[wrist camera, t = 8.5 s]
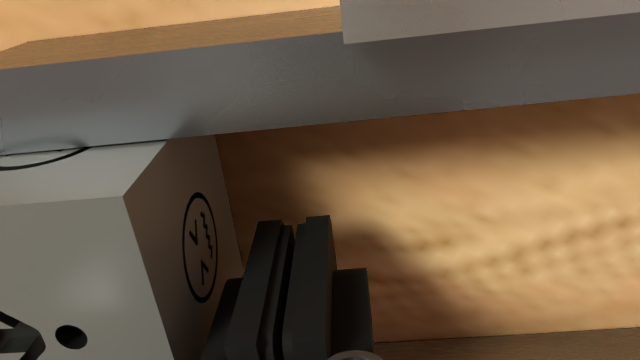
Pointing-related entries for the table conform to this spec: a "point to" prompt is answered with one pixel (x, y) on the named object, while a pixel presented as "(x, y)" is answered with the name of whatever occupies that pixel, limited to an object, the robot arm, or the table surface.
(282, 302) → the robot arm
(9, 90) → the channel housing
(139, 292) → the dice cube
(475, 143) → the table surface
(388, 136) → the table surface
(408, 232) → the table surface
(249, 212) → the table surface
